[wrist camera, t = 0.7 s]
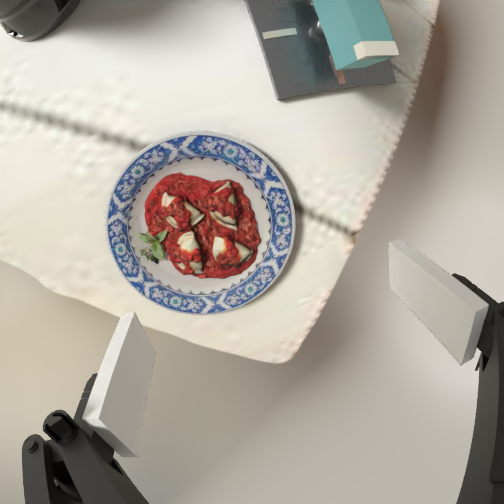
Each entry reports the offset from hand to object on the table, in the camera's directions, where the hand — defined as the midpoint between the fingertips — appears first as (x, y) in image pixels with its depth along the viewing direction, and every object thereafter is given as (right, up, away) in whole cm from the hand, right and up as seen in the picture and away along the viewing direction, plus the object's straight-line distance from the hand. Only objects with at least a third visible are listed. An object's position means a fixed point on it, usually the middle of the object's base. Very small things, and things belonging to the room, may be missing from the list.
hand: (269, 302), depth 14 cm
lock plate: (+9, +32, +17) cm, 38 cm away
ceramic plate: (-8, +6, +26) cm, 28 cm away
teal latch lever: (+9, +31, +12) cm, 34 cm away
